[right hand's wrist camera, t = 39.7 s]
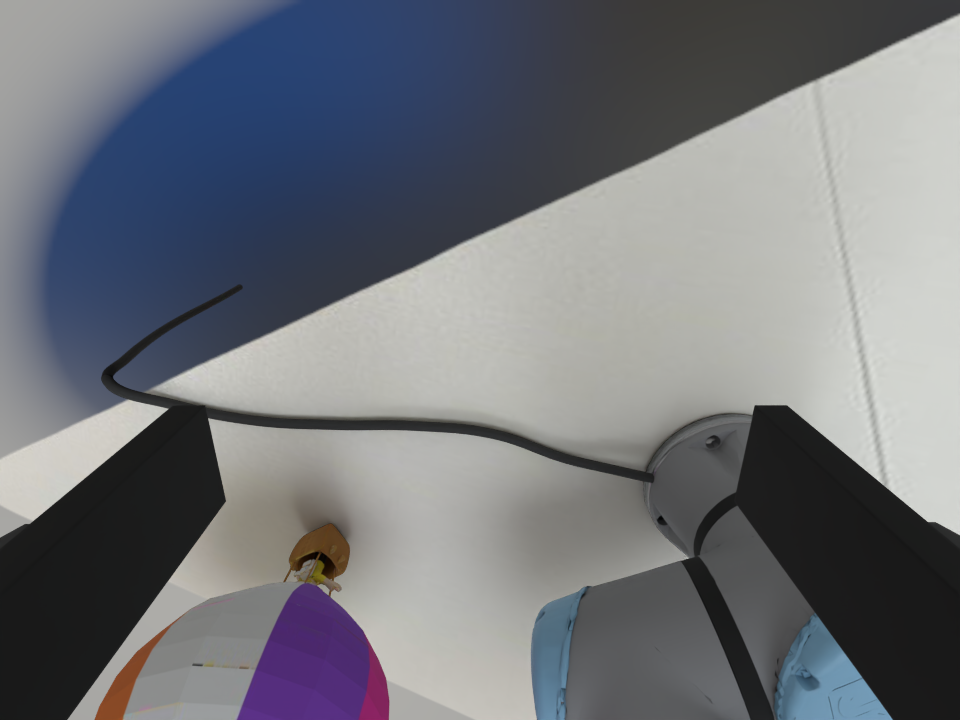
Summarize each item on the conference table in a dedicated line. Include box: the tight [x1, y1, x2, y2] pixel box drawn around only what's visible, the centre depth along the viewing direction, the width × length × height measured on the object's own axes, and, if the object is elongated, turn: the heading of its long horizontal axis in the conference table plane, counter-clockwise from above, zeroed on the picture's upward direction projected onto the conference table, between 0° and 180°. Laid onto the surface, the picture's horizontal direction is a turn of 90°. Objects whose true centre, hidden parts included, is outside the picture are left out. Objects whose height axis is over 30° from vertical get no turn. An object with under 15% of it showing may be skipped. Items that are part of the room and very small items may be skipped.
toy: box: [95, 524, 389, 720], centre depth 41 cm, size 20×20×30 cm
